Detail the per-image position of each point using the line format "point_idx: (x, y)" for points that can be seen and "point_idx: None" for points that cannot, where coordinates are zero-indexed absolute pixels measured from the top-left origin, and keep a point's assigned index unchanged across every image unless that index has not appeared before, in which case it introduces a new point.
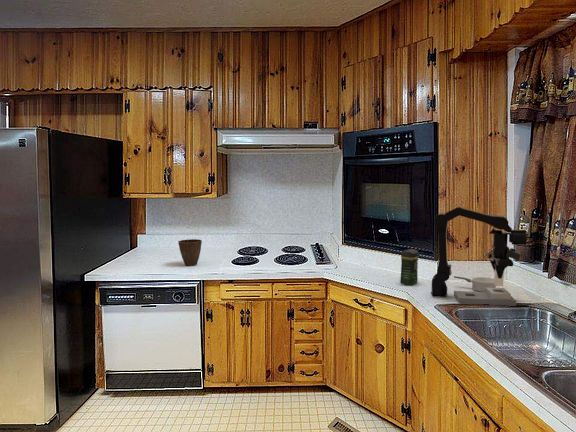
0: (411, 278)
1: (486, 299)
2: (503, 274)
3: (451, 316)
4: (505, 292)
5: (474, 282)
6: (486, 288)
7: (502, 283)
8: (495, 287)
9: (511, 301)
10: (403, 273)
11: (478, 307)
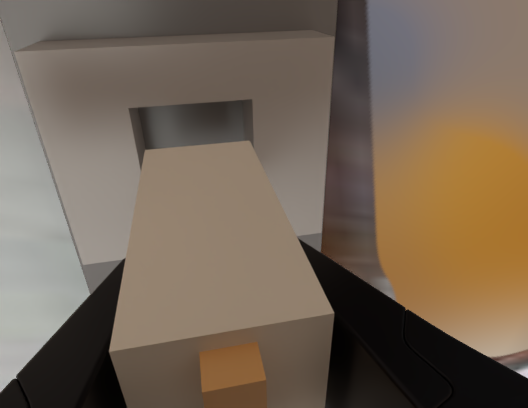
0: None
1: (320, 240)
2: (300, 246)
3: (499, 361)
4: (259, 87)
5: None
6: (116, 258)
7: (255, 164)
8: None
9: (330, 26)
10: None
11: (371, 264)
